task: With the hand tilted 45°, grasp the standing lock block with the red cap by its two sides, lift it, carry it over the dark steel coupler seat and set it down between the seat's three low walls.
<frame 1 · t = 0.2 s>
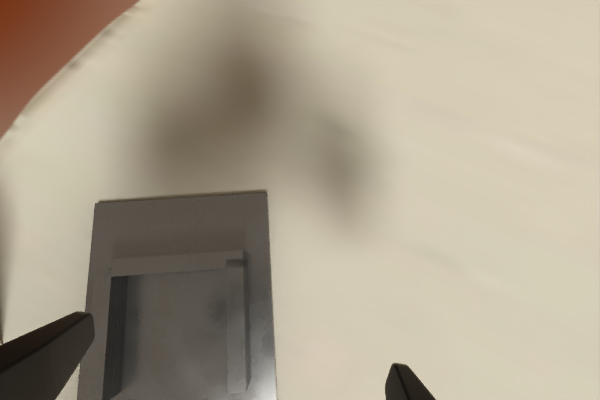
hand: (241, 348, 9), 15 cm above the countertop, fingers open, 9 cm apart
coupler seat: (181, 326, 22), on the countertop
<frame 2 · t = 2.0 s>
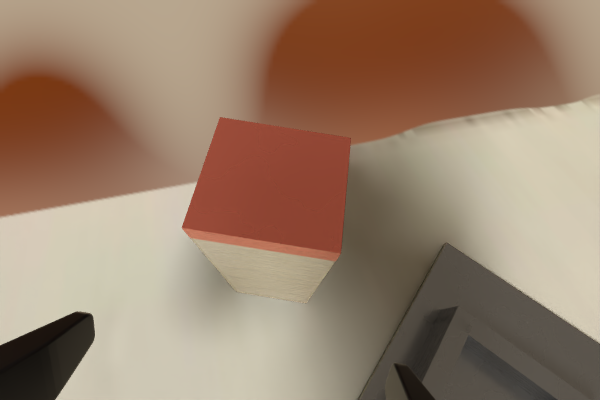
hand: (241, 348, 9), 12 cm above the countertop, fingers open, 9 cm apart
lock block: (276, 266, 22), on the countertop
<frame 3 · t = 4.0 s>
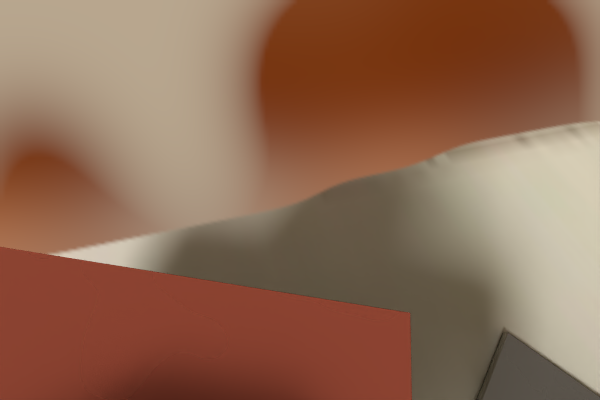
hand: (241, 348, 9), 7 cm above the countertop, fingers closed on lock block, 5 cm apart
lock block: (250, 377, 14), on the countertop, touching gripper
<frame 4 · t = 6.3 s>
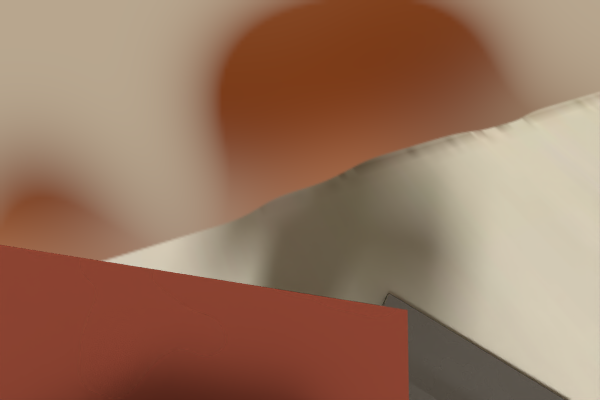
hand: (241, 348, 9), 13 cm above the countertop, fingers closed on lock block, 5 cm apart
lock block: (250, 376, 14), point 7 cm above the countertop, touching gripper
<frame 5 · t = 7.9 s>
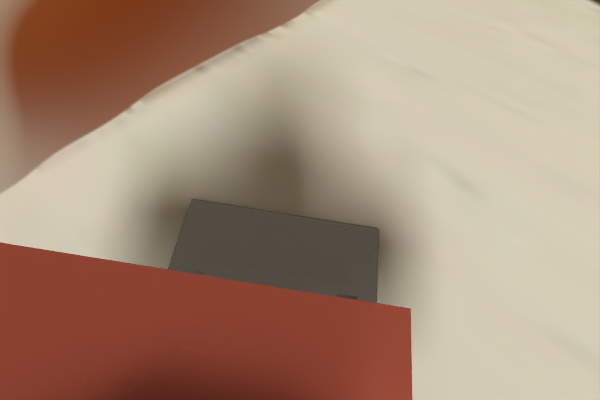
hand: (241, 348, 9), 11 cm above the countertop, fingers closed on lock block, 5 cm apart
coupler seat: (257, 366, 18), on the countertop
lock block: (250, 376, 14), point 4 cm above the countertop, touching gripper
when the fingers open (8 cm above the countertop, at t = 8.8 s): lock block drops 1 cm, resting on coupler seat.
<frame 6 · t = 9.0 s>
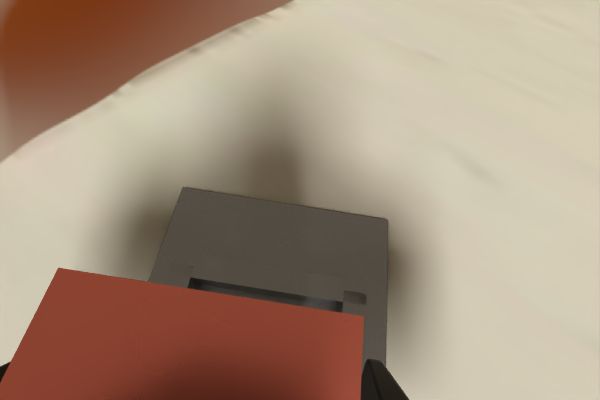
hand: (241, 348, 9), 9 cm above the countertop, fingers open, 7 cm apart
coupler seat: (254, 373, 16), on the countertop
lock block: (252, 373, 15), resting on coupler seat
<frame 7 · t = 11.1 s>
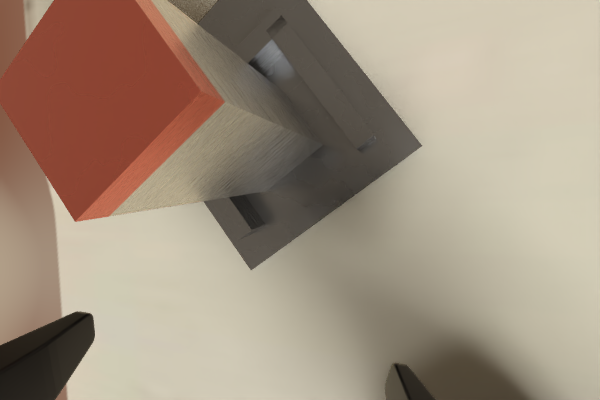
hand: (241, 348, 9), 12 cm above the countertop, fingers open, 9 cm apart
coupler seat: (276, 142, 20), on the countertop
lock block: (274, 142, 20), resting on coupler seat
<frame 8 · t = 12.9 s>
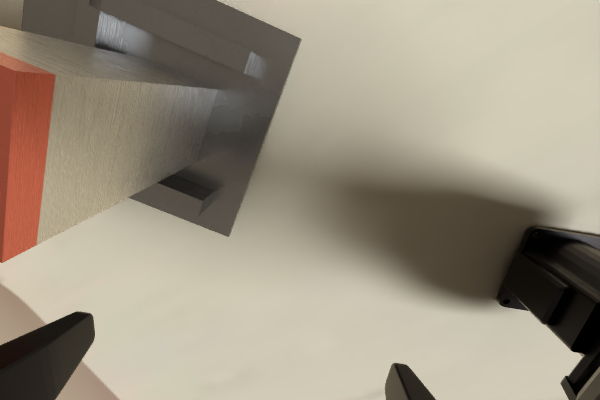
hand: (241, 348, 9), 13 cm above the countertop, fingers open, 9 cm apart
coupler seat: (176, 112, 19), on the countertop
lock block: (173, 113, 19), resting on coupler seat
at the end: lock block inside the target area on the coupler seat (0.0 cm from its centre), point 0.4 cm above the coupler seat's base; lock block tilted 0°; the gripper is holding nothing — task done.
